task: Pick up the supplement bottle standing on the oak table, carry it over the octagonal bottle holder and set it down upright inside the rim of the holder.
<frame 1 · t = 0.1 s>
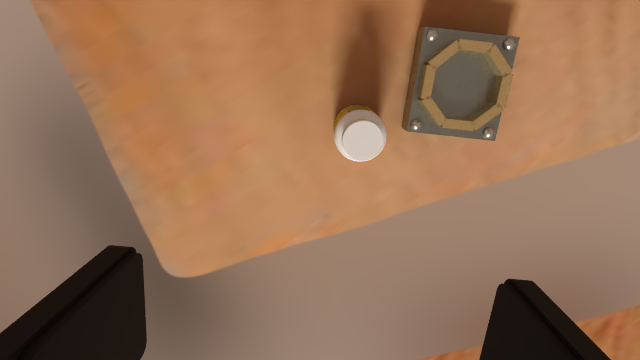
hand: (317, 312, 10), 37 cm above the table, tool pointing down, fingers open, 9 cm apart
supplement bottle: (355, 126, 45), on the table
octagonal bottle holder: (452, 84, 43), on the table
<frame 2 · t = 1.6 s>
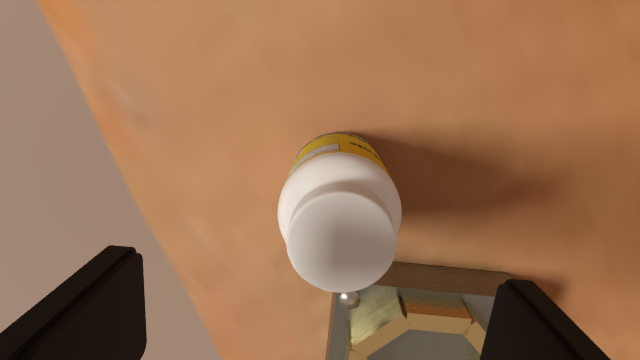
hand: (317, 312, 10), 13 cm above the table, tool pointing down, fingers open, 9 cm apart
supplement bottle: (337, 173, 23), on the table
octagonal bottle holder: (409, 329, 26), on the table
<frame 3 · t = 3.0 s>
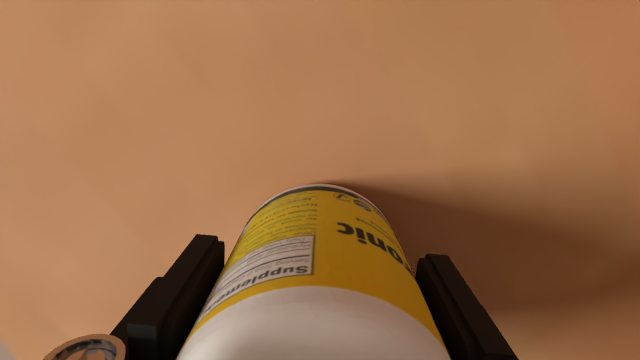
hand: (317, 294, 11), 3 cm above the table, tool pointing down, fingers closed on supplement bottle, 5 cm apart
supplement bottle: (319, 250, 13), on the table, touching gripper
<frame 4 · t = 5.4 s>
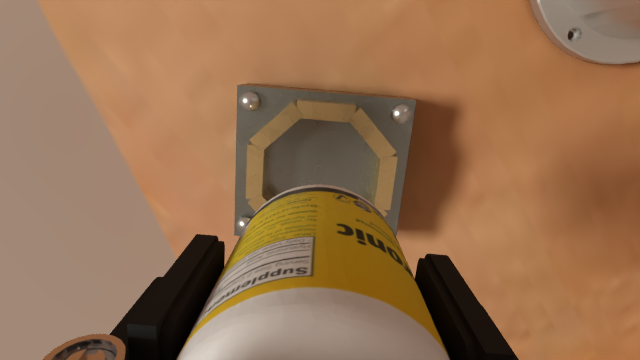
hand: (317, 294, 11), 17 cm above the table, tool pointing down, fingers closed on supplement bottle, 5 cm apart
supplement bottle: (319, 250, 13), point 15 cm above the table, touching gripper
octagonal bottle holder: (320, 160, 27), on the table
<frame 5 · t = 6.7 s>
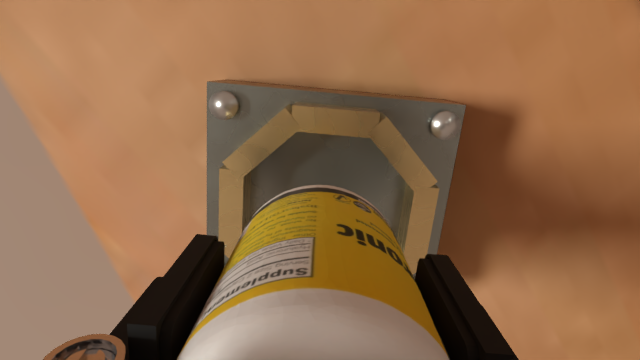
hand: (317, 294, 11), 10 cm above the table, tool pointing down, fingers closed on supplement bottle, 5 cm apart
supplement bottle: (319, 251, 13), point 7 cm above the table, touching gripper
octagonal bottle holder: (326, 184, 20), on the table
when the fingers open (6 cm above the table, at t = 7.9 s): supplement bottle stays where it is, resting on octagonal bottle holder.
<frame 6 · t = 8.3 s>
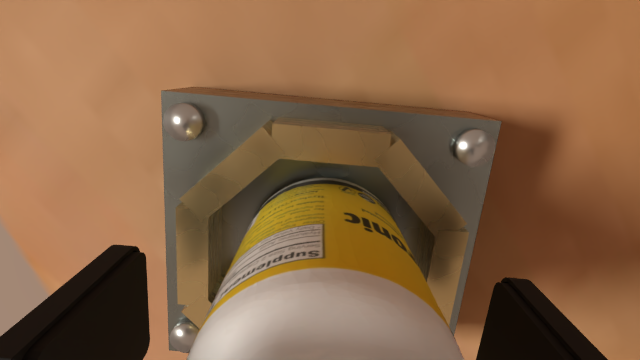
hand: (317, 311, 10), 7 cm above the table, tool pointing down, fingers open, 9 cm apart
supplement bottle: (323, 242, 14), point 3 cm above the table, touching octagonal bottle holder
octagonal bottle holder: (319, 215, 16), on the table
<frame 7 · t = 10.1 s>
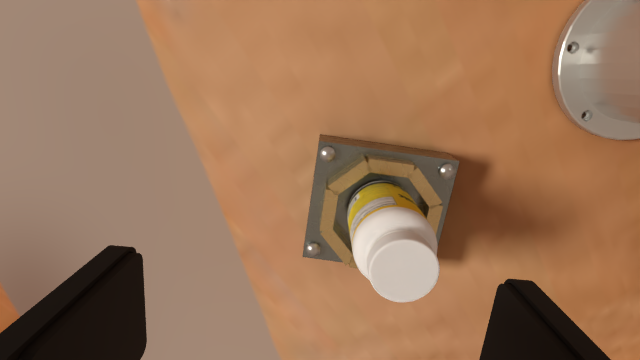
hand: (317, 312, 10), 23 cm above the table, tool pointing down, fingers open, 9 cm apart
supplement bottle: (379, 209, 31), point 3 cm above the table, touching octagonal bottle holder
octagonal bottle holder: (373, 198, 33), on the table
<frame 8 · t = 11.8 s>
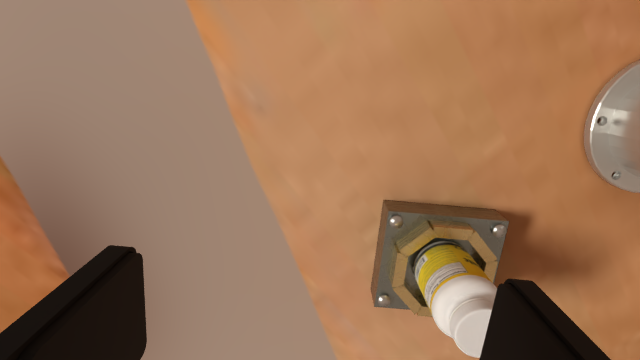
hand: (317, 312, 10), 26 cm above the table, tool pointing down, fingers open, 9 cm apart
supplement bottle: (440, 263, 35), point 3 cm above the table, touching octagonal bottle holder
octagonal bottle holder: (430, 250, 38), on the table
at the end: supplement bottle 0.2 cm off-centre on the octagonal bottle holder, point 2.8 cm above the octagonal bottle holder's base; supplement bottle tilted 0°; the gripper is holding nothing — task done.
